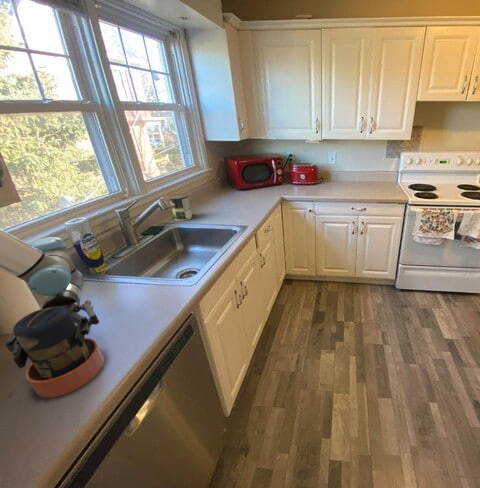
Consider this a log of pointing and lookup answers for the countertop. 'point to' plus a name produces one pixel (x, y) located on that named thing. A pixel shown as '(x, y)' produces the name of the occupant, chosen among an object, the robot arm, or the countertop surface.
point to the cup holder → (68, 374)
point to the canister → (51, 341)
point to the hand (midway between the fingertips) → (50, 352)
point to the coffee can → (180, 207)
